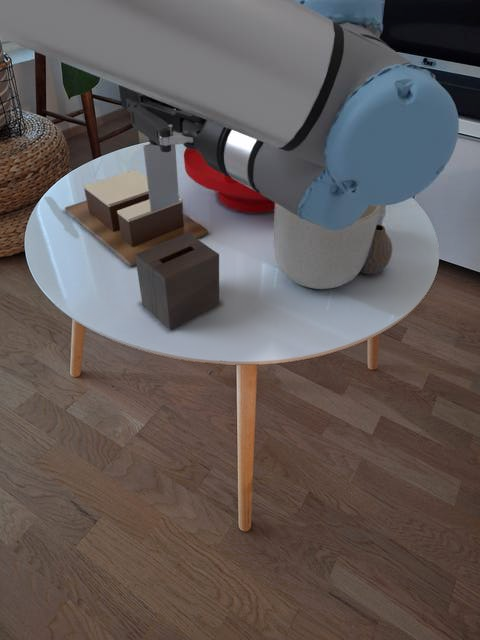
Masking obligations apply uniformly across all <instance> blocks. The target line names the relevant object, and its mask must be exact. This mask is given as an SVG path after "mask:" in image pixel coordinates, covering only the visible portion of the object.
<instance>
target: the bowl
mask: <svg viewBox="0 0 480 640" xmlns="http://www.w3.org/2000/svg"><path fill="white" fill-rule="evenodd" d="M183 163H184V170H185V173H186V174H187V176H188V177H189V178H190V179H191V181H193V182H195V184H198V185H199V186H201V187H204V188H205V189H208V190H211V191H213V192H217V197H218V201H220V203H221V204H222V205H224V206H225V207H227V208H229V209H231V210H233V211H234V210H235V211H238V212H241V213H250V214H251V213H252V214H260V213H269V212H273V211H275V202H273V201H272V200H270V199H268V198H266V197H265V196H263V195H261V194H259V193H258V192H256V191H255V190H253V189H251V188H249V187H247V186H245V185H243V184H241V183H240V182H238V181H236V180H234V179H232V178H230V177H227V176H226V175H224V174H222V173H220V172H218V171H216V170H215V169H213V168H211V167H210V166H209V165H208V164H207V163H206V162H205V160H204V159H203V157H202V156H201V154H200V153H199V151H197V150H193V149H188V148H186V147H185V149H184V152H183Z"/></svg>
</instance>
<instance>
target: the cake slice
mask: <svg viewBox="0 0 480 640" xmlns="http://www.w3.org/2000/svg"><path fill="white" fill-rule="evenodd" d="M183 207H184V205H183V199H182V198H181V197H179V203H176V204H173V205H170V206H168V207H165V208H162V209H159V210H157V211H154V212H151V210H150V201H149V200H146V201H143V202H141V203H138V204H135V205H132V206H129V207H126V208H123V209H121V210H118V211H117V213H118V219H119V225H120V231H121V237H122V239H123V240H124V241H126V242H127V243H128V244H129V245H131V246H132V247H134V246H137V245H139V244H142V243H144V242H147V241H149V240H152V239H154V238H157V237H159V236H162V235H164V234H167V233H169V232H171V231H174V230H176V229H179V228H181V227H184V221H183V214H184V208H183Z"/></svg>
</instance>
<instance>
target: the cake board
mask: <svg viewBox="0 0 480 640" xmlns="http://www.w3.org/2000/svg"><path fill="white" fill-rule="evenodd" d="M64 210H65V212H66V213H67V214H68V215H69V216H71V218H73V219H74V220H75V221H76V222H77V223H79V224H80V225H81V226H82V227H83V228H84V229H86V231H88V232H89V233H90V234H91V235H93V237H95V238H96V239H97V240H98V241H99V242H100V243H102V244H103V245H104V246H106V247H107V249H108V250H110V251H111V252H113V254H115V255H116V256H117V257H118V258H120V259H121V260H122V261H123V262H124V263H125V264H127V265H128V266H129V267H130V268H132V267H135V266H137V265H136V258H135V254H137V253H140V252H142V251H145V250H147V249H150V248H152V247H154V246H157V245H159V244H162V243H164V242H166V241H169V240H171V239H174V238H176V237H178V236H181V235H183V234H186V233H189V234H191V235H192V236H194V237H195V238H197V239H198V240H199V239H200V238H202V237H205V236H207V235H209V230H208V229H207V228H206V227H204V226H202V224H200V223H198V222H197V221H195V220H194V219H192V218H190V217H189V216H187V215H186V214H184V213H183V221H184V227H181V228H179V229H176V230H174V231H171V232H169V233H167V234H164V235H162V236H159V237H157V238H154V239H152V240H149V241H147V242H144V243H142V244H139V245H137V246H134V247H132V246H131V245H129V244H128V243H127V242H126V241H124V240H123V239H122V237H121V231H120V230H117V231H115V232H113V231H112V230H111V229H109V228H108V227H107V226H106V225H104V224H103V223H102V222H101V221H100V220H98V219H97V218H96V217H95V216H93V215H92V214H91V213H90V212H89V209H88V204H87V200H86V199H85V200H84V201H81V202H77V203H74V204H71V205H68V206H65V207H64Z"/></svg>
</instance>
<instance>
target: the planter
mask: <svg viewBox="0 0 480 640" xmlns="http://www.w3.org/2000/svg"><path fill="white" fill-rule="evenodd" d="M381 207H382V206H372V205H369V206H368V207H367V209H366V211H365V212H364V213H363V214H362V216H361V217H360V218H359V219H358V220H357V221H356V222H355V223H353V224H352V225H350V226H348V227H346V228H344V229H342V230H338V231H332V230H328V229H326V228H323V227H320V226H318V225H315V224H313V223H311V222H309V221H307V220H304V219H301V218H299V217H298V215H296V214H294V213H292V212H291V211H289V210H287V209H285V208H284V207H282V206H280V205H278V204H277V203H275V210H274V216H273V218H274V220H273V251H274V252H273V253H274V254H273V255H274V259H275V262H276V264H277V266H278V268H279V270H280V271H281V272H282V273H283V275H285V276H286V277H287V278H288V279H290V280H291V281H292V282H293V283H296V284H298V285H299V286H302V287H305V288H309V289H314V290H329V289H334V288H338V287H341V286H343V285H345V284H348V283H349V282H351V281H352V280H354V279H355V278H356V277H357V276H358V275H359V273H361V272H360V271H361V269H362V267H363V266H364V263H365V261H366V259H367V256H368V253H369V250H370V247H371V244H372V240H373V236H374V233H375V229H376V226H377V222H378V219H379V215H380V211H381Z"/></svg>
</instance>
